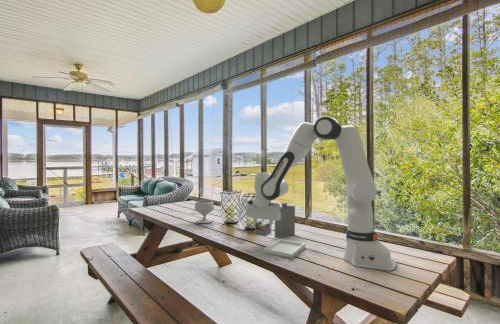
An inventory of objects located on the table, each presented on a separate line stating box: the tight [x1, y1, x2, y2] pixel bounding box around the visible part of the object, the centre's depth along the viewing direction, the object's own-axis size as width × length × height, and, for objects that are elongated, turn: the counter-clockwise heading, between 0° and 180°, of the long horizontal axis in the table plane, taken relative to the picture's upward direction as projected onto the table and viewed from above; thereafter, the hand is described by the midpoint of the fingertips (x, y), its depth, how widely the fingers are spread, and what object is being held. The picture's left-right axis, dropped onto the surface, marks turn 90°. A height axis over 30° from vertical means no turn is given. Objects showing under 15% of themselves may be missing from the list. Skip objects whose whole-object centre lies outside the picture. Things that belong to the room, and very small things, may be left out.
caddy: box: [254, 220, 272, 237], centre depth 150 cm, size 6×6×6 cm
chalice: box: [194, 199, 215, 224], centre depth 202 cm, size 14×14×15 cm
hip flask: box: [274, 202, 296, 239], centre depth 169 cm, size 16×4×20 cm, turn 128°
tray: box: [263, 238, 306, 260], centre depth 143 cm, size 15×19×2 cm
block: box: [258, 223, 266, 230], centre depth 150 cm, size 4×4×4 cm
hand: (263, 227), depth 150 cm, fingers closed on caddy, 6 cm apart
